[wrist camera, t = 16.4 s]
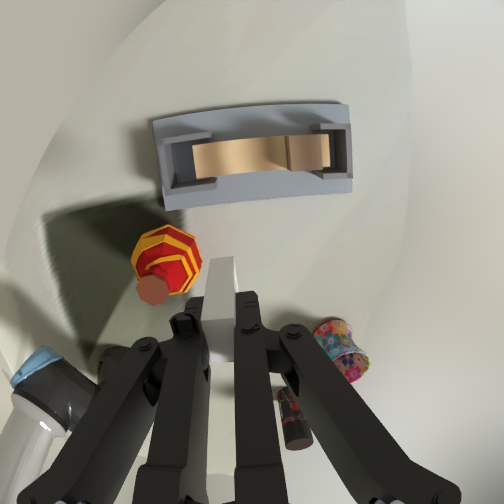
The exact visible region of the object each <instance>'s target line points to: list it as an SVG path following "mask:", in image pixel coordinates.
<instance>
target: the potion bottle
mask: <svg viewBox="0 0 504 504" xmlns="http://www.w3.org/2000/svg"><path fill="white" fill-rule="evenodd" d="M199 256H200V257H199ZM131 263H132V265H133V268H134V270H135V274H136V277H137V281H138V284H137V286H136V289H137V292H138V294H139V296H140V299H142V300H143V301H145V302H147V303H149V304H151V305H157V304H162V303H164V302H165V300H166V299H167V297H168V295H173V294H180V293H185V292H188V290H189V289H190V287H191V286H192V284H193V283H194V281H195V280H196V278H197V277H198V275H199V274H200V269H201V264H202V263H203V261H202V258H201V255H200V252H199V249H198V246H197V243H196V240H195V238H194V236H192V235H190V234H188V233H186V232H184V231H182V230H180V229H179V228H177V227H175V226H173V225H170V224H167V225H165V226H162V227H160V228H157V229H155V230H151V231H148V232H146V233H145V234H143V235H142V236H141V237H140V239H139V241H138V243H137V245H136V247H135V249H134V251H133V254H132V257H131ZM183 290H185V291H183Z"/></svg>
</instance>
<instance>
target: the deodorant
mask: <svg viewBox="0 0 504 504" xmlns="http://www.w3.org/2000/svg"><path fill="white" fill-rule="evenodd" d="M277 397H278V403H279V409H280V416H281V422H282V428H283V434H284V441H285V447H286V449H288V450H293V451H294V450H302V449H305V448H308V447H310V446H311V445H312V444H313V437H312V433H311V429H310V426H309V424H308V423H307V421H306V419H305V417H304V416H303V414H302V412H301V410H300V409H299V407H298V405H297V403H296V402H295V400H294V398H293V396H292V394H291V393H290V391H289V389H288V387H286V388H283V389H281V390H280V391H279V392H278V394H277Z"/></svg>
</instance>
